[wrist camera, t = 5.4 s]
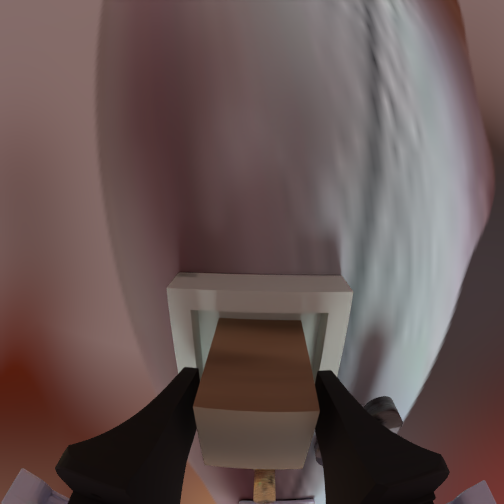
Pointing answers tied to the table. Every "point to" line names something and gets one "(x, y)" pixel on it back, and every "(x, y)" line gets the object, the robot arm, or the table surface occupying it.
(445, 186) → the table surface
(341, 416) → the robot arm
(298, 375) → the block
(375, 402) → the crank
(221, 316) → the tray
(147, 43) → the table surface
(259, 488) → the crank base
